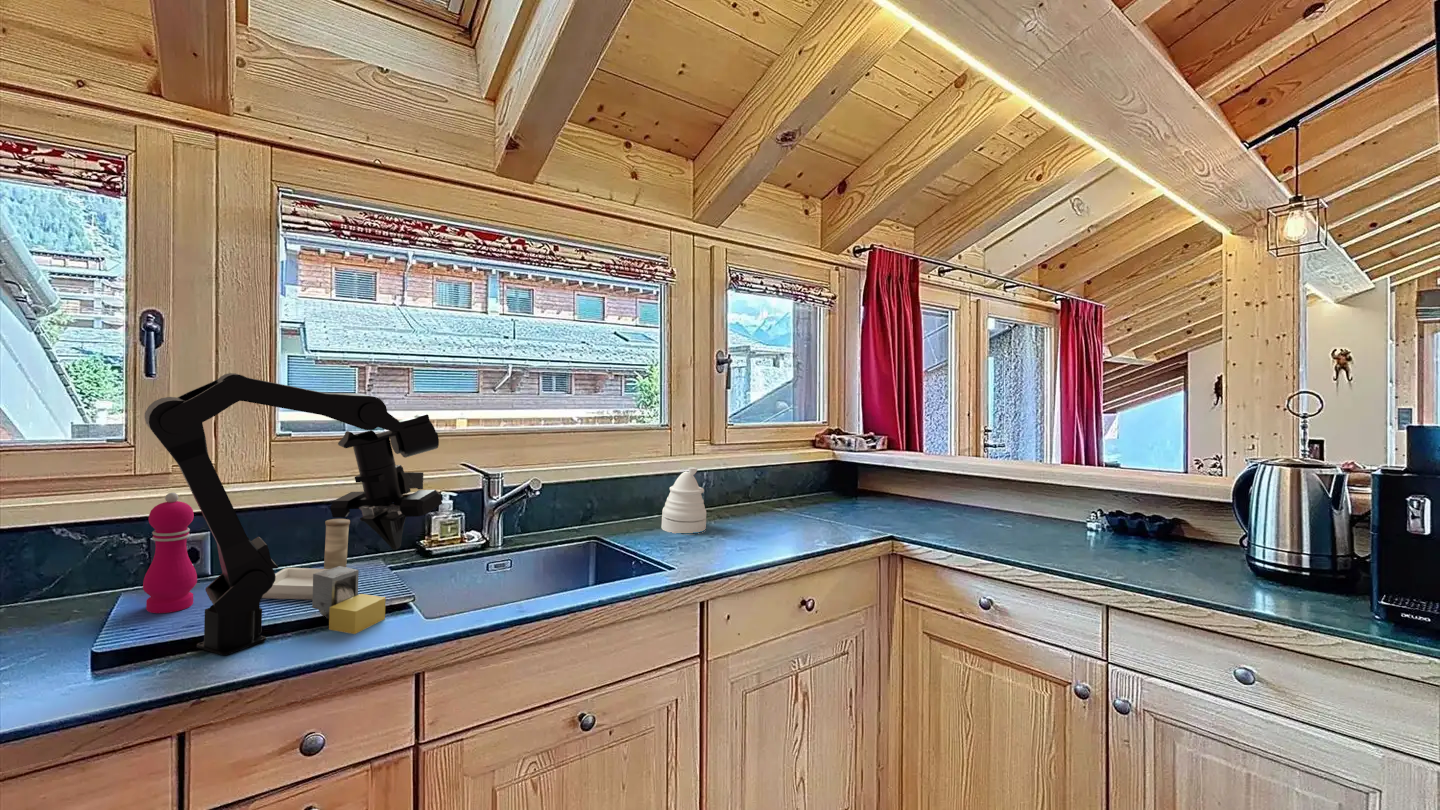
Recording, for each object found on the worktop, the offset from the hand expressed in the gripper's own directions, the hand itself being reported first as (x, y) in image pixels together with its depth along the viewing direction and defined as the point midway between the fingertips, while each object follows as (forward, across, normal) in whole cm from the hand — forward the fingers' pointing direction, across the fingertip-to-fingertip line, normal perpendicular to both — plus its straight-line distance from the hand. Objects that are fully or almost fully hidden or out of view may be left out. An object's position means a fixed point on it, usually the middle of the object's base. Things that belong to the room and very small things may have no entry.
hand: (396, 548), depth 119 cm
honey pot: (+32, -27, -78) cm, 89 cm away
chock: (+10, +3, +9) cm, 14 cm away
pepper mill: (+4, +36, +14) cm, 39 cm away
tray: (+9, +23, -1) cm, 25 cm away
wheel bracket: (+9, +9, +8) cm, 15 cm away
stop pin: (+10, +25, -10) cm, 29 cm away
